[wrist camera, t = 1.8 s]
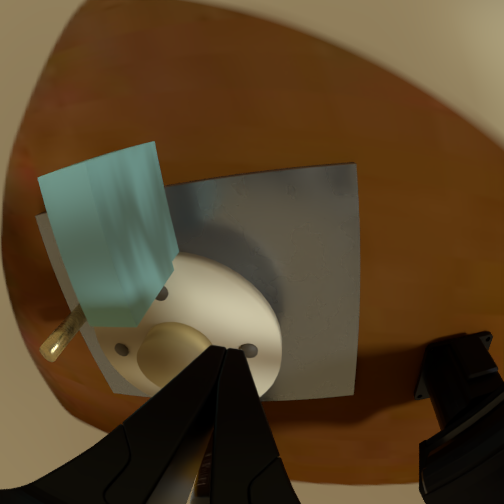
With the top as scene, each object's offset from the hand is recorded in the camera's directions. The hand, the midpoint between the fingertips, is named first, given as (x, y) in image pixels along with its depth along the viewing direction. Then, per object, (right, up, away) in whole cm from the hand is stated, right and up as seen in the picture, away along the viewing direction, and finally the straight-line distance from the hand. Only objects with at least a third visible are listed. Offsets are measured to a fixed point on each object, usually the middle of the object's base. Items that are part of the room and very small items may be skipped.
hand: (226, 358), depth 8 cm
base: (-3, -2, +14) cm, 15 cm away
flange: (-4, 0, +10) cm, 11 cm away
